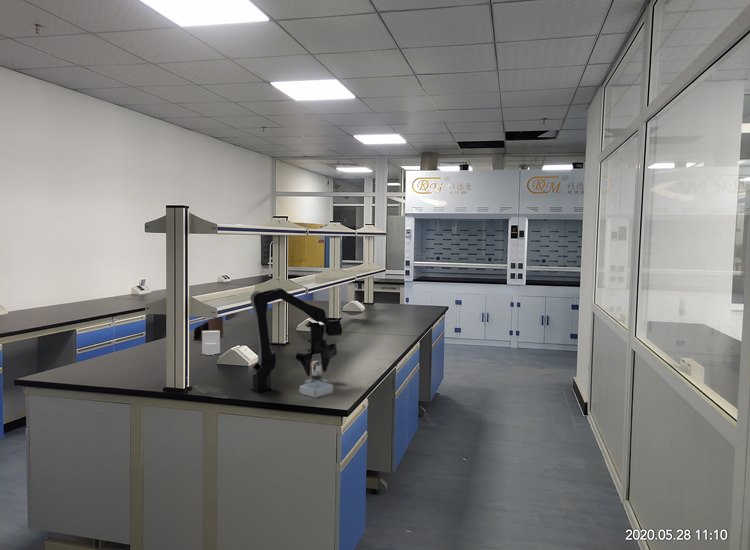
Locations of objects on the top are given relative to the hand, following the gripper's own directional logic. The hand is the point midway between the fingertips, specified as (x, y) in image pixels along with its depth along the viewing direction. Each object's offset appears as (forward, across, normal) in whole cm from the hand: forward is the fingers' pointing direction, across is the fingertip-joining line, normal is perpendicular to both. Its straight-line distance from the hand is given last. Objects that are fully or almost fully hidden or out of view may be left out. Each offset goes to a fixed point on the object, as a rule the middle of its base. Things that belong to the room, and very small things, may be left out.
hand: (316, 373), depth 222 cm
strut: (+2, 0, +1) cm, 2 cm away
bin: (+4, -9, -10) cm, 14 cm away
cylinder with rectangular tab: (+5, +2, +83) cm, 83 cm away
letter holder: (+5, +24, +120) cm, 122 cm away
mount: (+4, 0, 0) cm, 4 cm away
